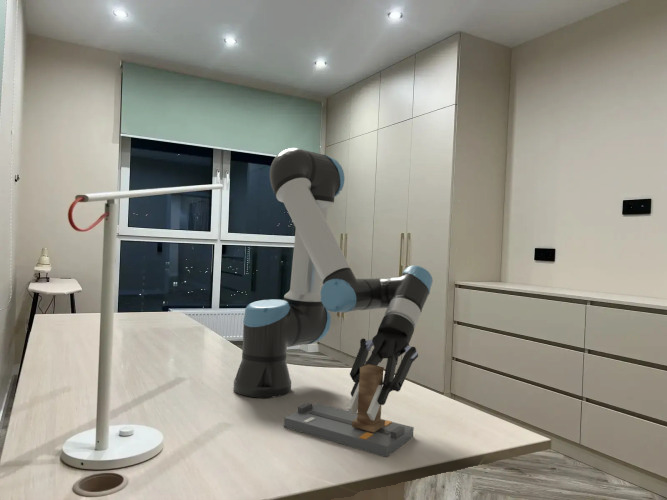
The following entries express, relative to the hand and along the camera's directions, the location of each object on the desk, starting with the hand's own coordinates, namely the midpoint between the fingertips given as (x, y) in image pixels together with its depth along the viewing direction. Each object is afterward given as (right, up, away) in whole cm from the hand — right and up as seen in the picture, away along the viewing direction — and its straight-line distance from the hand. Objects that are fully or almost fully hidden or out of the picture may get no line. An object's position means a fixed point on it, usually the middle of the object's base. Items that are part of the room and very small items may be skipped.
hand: (360, 414), depth 101 cm
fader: (+2, -4, +3) cm, 5 cm away
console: (-2, -6, +6) cm, 8 cm away
